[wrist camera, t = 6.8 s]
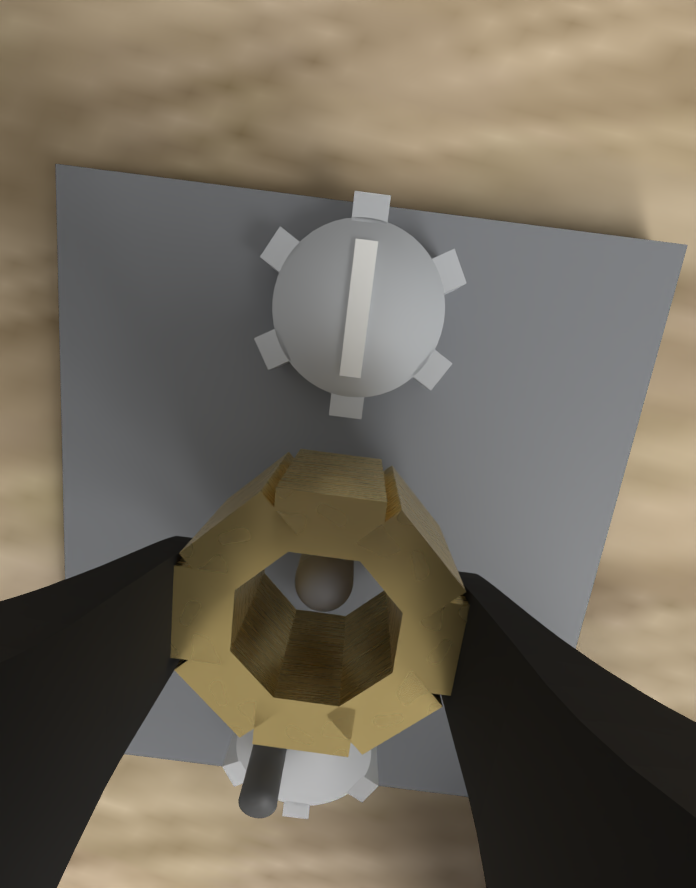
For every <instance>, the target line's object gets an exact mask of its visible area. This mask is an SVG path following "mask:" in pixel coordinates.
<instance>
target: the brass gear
mask: <svg viewBox="0 0 696 888" xmlns="http://www.w3.org/2000/svg"><path fill="white" fill-rule="evenodd" d="M287 552H294V553H302V554H309V555H317V556H324V557H332V558H339V559H347V560H354V561H360V562H361V563H362V564H363V566H364V567H365V568H366V569H367V570H368V572H369V573H370V574H371V575H372V576H373V578H374V579H375V580H376V581H377V582H378V584H379V585H380V586H381V587H382V588H383V590H384V591H382V592H381V593H379V594H378V595H376V596H375V597H373V598H372V599H370V600H369V601H367V602H366V603H364V604H363V605H362V606H360V607H359V608H357V609H356V610H354V611H353V612H351V613H350V614H348V615H347V616H342V615H335V614H327V613H320V612H312V611H305V610H297V609H296V608H295V607H294V606H293V605H292V604H291V603H290V601H289V600H288V599H287V598H286V597H285V596H284V595H283V593H282V592H281V591H280V590H279V589H278V588H277V587H276V585H275V584H274V583H273V582H272V581H271V580H270V579H269V578H268V576H267V575H266V574H265V568H266V567H268V566H269V565H271V564H272V563H273V562H275V561H276V560H278V559H279V558H280V557H282V556H283V555H284V554H286V553H287ZM179 554H180V555H181V556H182V557H183V558H182V559H181V560H180V561H179V562H178V563H177V564H176V565H175V566H174V578H173V604H172V630H171V656H170V658H176V659H180V661H179V663H178V664H177V666H176V668H175V669H174V670H175V671H176V672H177V674H178V675H179V676H180V677H181V678H182V679H183V680H184V681H185V682H186V683H187V684H188V685H189V686H190V687H191V688H192V689H193V690H194V691H195V692H196V693H197V694H198V695H199V696H200V697H201V698H202V699H203V700H204V701H205V703H206V704H207V705H208V706H209V707H210V708H211V709H212V710H213V711H214V712H215V713H216V714H217V715H218V716H219V717H220V718H221V719H222V720H223V721H224V722H225V723H226V724H227V725H228V726H229V727H230V728H231V729H232V730H233V732H234V733H235V734H236V735H237V736H238V737H239V738H240V737H242V736H243V735H245V734H246V733H248V732H249V731H251V730H252V729H254V731H253V742H252V744H255V745H263V746H270V747H277V748H284V749H292V750H299V751H306V752H313V753H320V754H328V755H335V756H342V757H349V750H350V744H351V743H352V744H353V745H354V746H355V747H356V748H357V749H358V751H359V752H360V753H361V754H362V755H363V754H364V753H366V752H368V751H369V750H371V749H373V748H374V747H376V746H378V745H379V744H381V743H383V742H384V741H386V740H388V739H389V738H391V737H393V736H394V735H396V734H398V733H400V732H401V731H403V730H405V729H406V728H408V727H410V726H411V725H413V724H415V723H416V722H418V721H420V720H421V719H423V718H425V717H426V716H428V715H430V714H431V713H433V712H435V711H436V710H438V709H440V708H441V707H443V706H442V701H441V697H440V694H441V695H448V696H451V692H452V688H453V683H454V678H455V673H456V669H457V664H458V659H459V654H460V649H461V645H462V640H463V635H464V630H465V626H466V621H467V616H468V611H469V607H470V605H469V603H468V601H467V600H466V598H465V596H464V593H465V592H466V590H465V587H464V585H463V582H462V580H461V577H460V575H459V573H458V570H457V568H456V565H455V563H454V560H453V558H452V555H451V553H450V550H449V548H448V546H447V543H446V541H445V538H444V536H443V533H442V531H441V528H440V526H439V525H438V524H437V522H436V521H435V520H434V518H433V517H432V516H431V515H430V513H429V512H428V511H427V509H426V508H425V507H424V506H423V504H422V503H421V502H420V500H419V499H418V498H417V497H416V495H415V494H414V493H413V491H412V490H411V489H410V488H409V486H408V485H407V484H406V483H405V481H404V480H403V479H402V477H401V476H400V475H399V474H398V472H397V471H396V470H395V468H394V467H393V466H390V467H389V468H387V469H386V470H385V471H383V466H382V459H375V458H368V457H360V456H352V455H345V454H337V453H329V452H322V451H314V450H306V449H300V450H299V452H298V453H297V455H296V456H295V458H294V457H293V456H292V455H291V454H290V452H288V453H287V454H285V455H284V456H283V457H281V458H280V459H279V460H277V461H276V462H275V463H274V464H272V465H271V466H270V467H268V468H267V469H266V470H264V471H263V472H262V473H261V474H259V475H258V476H257V477H255V478H254V479H253V480H251V481H250V482H249V483H248V484H246V485H245V486H244V487H242V488H241V489H240V490H238V491H237V492H236V493H235V494H233V495H232V496H231V497H229V498H228V499H227V500H226V501H225V503H224V504H223V505H222V506H221V507H220V508H219V509H218V510H217V511H216V513H215V514H214V515H213V516H212V517H211V518H210V519H209V520H208V521H207V523H206V524H205V525H204V526H203V527H202V528H201V529H200V530H199V532H198V533H197V534H196V535H195V536H194V537H193V538H192V539H191V540H190V542H189V543H188V544H187V545H186V546H185V547H184V548H183V549H182V550H181V552H180V553H179Z"/></svg>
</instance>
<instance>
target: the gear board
mask: <svg viewBox="0 0 696 888" xmlns="http://www.w3.org/2000/svg"><path fill="white" fill-rule="evenodd" d="M390 200H391V195H384V194H376V193H368V192H361V191H355V193H354V202H349V201H341V200H334V199H326V198H318V197H310V196H303V195H295V194H287V193H279V192H271V191H264V190H256V189H248V188H240V187H232V186H225V185H217V184H209V183H201V182H194V181H186V180H178V179H170V178H162V177H155V176H147V175H139V174H131V173H124V172H116V171H108V170H100V169H92V168H85V167H77V166H69V165H61V164H56V206H57V249H58V292H59V334H60V377H61V420H62V463H63V506H64V548H65V579H68V578H70V577H73V576H76V575H78V574H81V573H84V572H86V571H89V570H91V569H94V568H97V567H99V566H102V565H104V564H106V563H109V562H111V561H113V560H116V559H118V558H121V557H123V556H125V555H128V554H130V553H132V552H135V551H137V550H139V549H142V548H144V547H146V546H149V545H151V544H154V543H156V542H159V541H161V540H164V539H167V538H170V537H173V536H182V537H190V538H193V537H194V536H195V535H196V534H197V533H198V532H199V530H200V529H201V528H202V527H203V526H204V525H205V524H206V523H207V521H208V520H209V519H210V518H211V517H212V516H213V515H214V514H215V513H216V511H217V510H218V509H219V508H220V507H221V506H222V505H223V504H224V503H225V501H226V500H227V499H228V498H229V497H231V496H232V495H233V494H235V493H236V492H237V491H238V490H240V489H241V488H242V487H244V486H245V485H246V484H248V483H249V482H250V481H251V480H253V479H254V478H255V477H257V476H258V475H259V474H261V473H262V472H263V471H264V470H266V469H267V468H268V467H270V466H271V465H272V464H274V463H275V462H276V461H277V460H279V459H280V458H281V457H283V456H284V455H285V454H287V453H288V452H290V454H291V455H292V456H293V457H294V458H295V456H296V455H297V453H298V452H299V450H300V449H306V450H314V451H322V452H329V453H337V454H345V455H352V456H360V457H368V458H375V459H382V466H383V471H385V470H386V469H387V468H389V467H390V466H393V467H394V468H395V470H396V471H397V472H398V474H399V475H400V476H401V477H402V479H403V480H404V481H405V483H406V484H407V485H408V486H409V488H410V489H411V490H412V491H413V493H414V494H415V495H416V497H417V498H418V499H419V500H420V502H421V503H422V504H423V506H424V507H425V508H426V509H427V511H428V512H429V513H430V515H431V516H432V517H433V518H434V520H435V521H436V522H437V524H438V525H439V526H440V528H441V531H442V533H443V536H444V538H445V541H446V543H447V546H448V548H449V550H450V553H451V555H452V558H453V560H454V563H455V565H456V568H457V570H458V571H460V572H468V573H476V574H478V575H480V576H481V577H483V578H484V579H486V580H487V581H488V582H490V583H491V584H492V585H494V586H495V587H496V588H497V589H499V590H500V591H501V592H502V593H504V594H505V595H506V596H507V597H509V598H510V599H511V600H512V601H513V602H515V603H516V604H517V605H518V606H520V607H521V608H522V609H523V610H525V611H526V612H527V613H528V614H530V615H531V616H532V617H533V618H535V619H536V620H537V621H539V622H540V623H541V624H542V625H544V626H545V627H546V628H548V629H549V630H550V631H552V632H553V633H554V634H556V635H557V636H558V637H560V638H561V639H562V640H564V641H565V642H566V643H568V644H569V645H571V646H572V647H573V648H575V649H576V645H577V641H578V638H579V634H580V631H581V627H582V623H583V620H584V616H585V613H586V609H587V605H588V602H589V598H590V595H591V591H592V587H593V584H594V580H595V576H596V573H597V569H598V566H599V562H600V558H601V555H602V551H603V548H604V544H605V540H606V537H607V533H608V530H609V526H610V522H611V519H612V515H613V512H614V508H615V504H616V501H617V497H618V494H619V490H620V486H621V483H622V479H623V476H624V472H625V468H626V465H627V461H628V458H629V454H630V450H631V447H632V443H633V440H634V436H635V432H636V429H637V425H638V422H639V418H640V414H641V411H642V407H643V404H644V400H645V396H646V393H647V389H648V386H649V382H650V378H651V375H652V371H653V368H654V364H655V360H656V357H657V353H658V350H659V346H660V342H661V339H662V335H663V332H664V328H665V324H666V321H667V317H668V314H669V310H670V306H671V303H672V299H673V296H674V292H675V288H676V285H677V281H678V278H679V274H680V270H681V267H682V263H683V260H684V256H685V252H686V249H687V245H684V244H676V243H668V242H660V241H653V240H645V239H637V238H629V237H622V236H614V235H606V234H598V233H590V232H583V231H575V230H567V229H559V228H551V227H544V226H536V225H528V224H520V223H513V222H505V221H497V220H489V219H481V218H474V217H466V216H458V215H450V214H443V213H435V212H427V211H419V210H411V209H404V208H396V207H390ZM265 574H266V575H267V576H268V578H269V579H270V580H271V581H272V582H273V583H274V584H275V585H276V587H277V588H278V589H279V590H280V591H281V592H282V593H283V595H284V596H285V597H286V598H287V599H288V600H289V601H290V603H291V604H292V605H293V606H294V607H295V608H296V609H297V610H305V611H312V612H320V613H327V614H335V615H342V616H347V615H348V614H350V613H351V612H353V611H354V610H356V609H357V608H359V607H360V606H362V605H363V604H364V603H366V602H367V601H369V600H370V599H372V598H373V597H375V596H376V595H378V594H379V593H381V592H382V591H384V590H383V588H382V587H381V586H380V585H379V584H378V582H377V581H376V580H375V579H374V578H373V576H372V575H371V574H370V573H369V572H368V570H367V569H366V568H365V567H364V566H363V564H362V563H361V562H360V561H354V560H347V559H339V558H332V557H324V556H317V555H309V554H302V553H294V552H287V553H286V554H284V555H283V556H282V557H280V558H279V559H278V560H276V561H275V562H273V563H272V564H271V565H269V566H268V567H266V568H265ZM440 697H441V701H442V706H443V707H441V708H440V709H438V710H436V711H435V712H433V713H431V714H430V715H428V716H426V717H425V718H423V719H421V720H420V721H418V722H416V723H415V724H413V725H411V726H410V727H408V728H406V729H405V730H403V731H401V732H400V733H398V734H396V735H394V736H393V737H391V738H389V739H388V740H386V741H384V742H383V743H381V744H379V745H378V746H376V747H374V748H373V749H371V750H369V751H368V752H366V753H364V754H363V755H362V754H361V753H360V752H359V751H358V749H357V748H356V747H355V746H354V745H353V744H352V743H351V744H350V750H349V757H342V756H335V755H328V754H320V753H313V752H306V751H299V750H292V749H284V748H277V747H270V746H263V745H255V744H252V742H253V731H254V729H252V730H251V731H249V732H248V733H246V734H245V735H243V736H242V737H240V738H239V737H238V736H237V735H236V734H235V733H234V732H233V730H232V729H231V728H230V727H229V726H228V725H227V724H226V723H225V722H224V721H223V720H222V719H221V718H220V717H219V716H218V715H217V714H216V713H215V712H214V711H213V710H212V709H211V708H210V707H209V706H208V705H207V704H206V703H205V701H204V700H203V699H202V698H201V697H200V696H199V695H198V694H197V693H196V692H195V691H194V690H193V689H192V688H191V687H190V686H189V685H188V684H187V683H186V682H185V681H184V680H183V679H182V678H181V677H180V676H179V675H178V674H177V672H176V671H175V670H174V672H173V673H172V675H171V677H170V678H169V680H168V682H167V683H166V685H165V687H164V688H163V690H162V692H161V693H160V695H159V697H158V698H157V700H156V702H155V703H154V705H153V707H152V708H151V710H150V712H149V713H148V715H147V717H146V718H145V720H144V722H143V723H142V725H141V727H140V728H139V730H138V732H137V733H136V735H135V736H134V738H133V740H132V741H131V743H130V745H129V746H128V748H127V750H126V751H125V753H124V754H128V755H136V756H144V757H152V758H160V759H168V760H176V761H184V762H192V763H200V764H208V765H216V766H222V767H223V769H224V770H225V772H226V774H227V776H228V777H229V779H230V781H231V782H232V784H233V786H237V785H240V784H243V785H242V789H241V793H240V797H239V807H240V809H241V810H242V811H243V812H244V813H245V814H246V815H248V816H250V817H254V818H265V817H268V816H270V815H271V814H272V813H273V812H274V811H275V810H276V807H277V801H278V800H279V801H282V802H284V807H283V816H286V817H294V818H302V819H308V817H309V809H310V805H320V804H325V803H329V802H332V801H335V800H337V799H339V798H341V797H343V796H345V795H347V794H350V795H351V796H353V797H354V798H356V799H357V800H359V801H361V802H363V801H364V800H365V799H366V798H367V797H368V796H369V795H370V794H371V793H372V792H373V791H374V790H375V789H376V788H377V787H378V786H385V787H393V788H401V789H409V790H417V791H425V792H433V793H441V794H449V795H457V796H465V797H468V794H467V790H466V786H465V783H464V779H463V775H462V772H461V768H460V764H459V760H458V757H457V753H456V749H455V746H454V742H453V738H452V734H451V731H450V727H449V723H448V719H447V715H446V712H445V708H444V704H443V700H442V696H441V694H440Z"/></svg>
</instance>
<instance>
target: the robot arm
mask: <svg viewBox="0 0 696 888" xmlns="http://www.w3.org/2000/svg"><path fill="white" fill-rule="evenodd" d="M191 539H192V538H190V537H182V536H173V537H170V538H167V539H164V540H161V541H159V542H156V543H154V544H151V545H149V546H146V547H144V548H142V549H139V550H137V551H135V552H132V553H130V554H128V555H125V556H123V557H121V558H118V559H116V560H113V561H111V562H109V563H106V564H104V565H102V566H99V567H97V568H94V569H91V570H89V571H86V572H84V573H81V574H78V575H76V576H73V577H70V578H68V579H65V580H63V581H60V582H57V583H55V584H52V585H50V586H47V587H44V588H41V589H38V590H35V591H32V592H29V593H26V594H23V595H20V596H17V597H14V598H10V599H7V600H4V601H0V888H57V886H58V884H59V882H60V880H61V878H62V875H63V873H64V871H65V869H66V867H67V865H68V863H69V861H70V858H71V856H72V854H73V852H74V850H75V848H76V846H77V844H78V842H79V840H80V838H81V836H82V834H83V832H84V829H85V827H86V825H87V823H88V821H89V819H90V817H91V815H92V813H93V811H94V809H95V807H96V805H97V803H98V801H99V799H100V797H101V795H102V793H103V791H104V789H105V787H106V785H107V783H108V781H109V779H110V778H111V776H112V774H113V772H114V770H115V769H116V767H117V765H118V763H119V761H120V760H121V758H122V756H123V755H124V753H125V751H126V750H127V748H128V746H129V745H130V743H131V741H132V740H133V738H134V736H135V735H136V733H137V732H138V730H139V728H140V727H141V725H142V723H143V722H144V720H145V718H146V717H147V715H148V713H149V712H150V710H151V708H152V707H153V705H154V703H155V702H156V700H157V698H158V697H159V695H160V693H161V692H162V690H163V688H164V687H165V685H166V683H167V682H168V680H169V678H170V677H171V675H172V673H173V672H174V669H175V668H176V666H177V664H178V663H179V661H180V659H176V658H170V656H171V630H172V604H173V578H174V566H175V565H176V564H177V563H178V562H179V561H180V560H181V559H182V558H183V557H182V556H181V555H180V554H179V553H180V552H181V550H182V549H183V548H184V547H185V546H186V545H187V544H188V543H189V542H190V540H191ZM458 573H459V575H460V577H461V580H462V582H463V585H464V587H465V590H466V592H465V593H464V596H465V598H466V600H467V601H468V603H469V605H470V607H469V611H468V616H467V621H466V626H465V630H464V635H463V640H462V645H461V649H460V654H459V659H458V664H457V669H456V673H455V678H454V683H453V688H452V692H451V696H448V695H441V696H442V700H443V704H444V708H445V712H446V715H447V719H448V723H449V727H450V731H451V734H452V738H453V742H454V746H455V749H456V753H457V757H458V760H459V764H460V768H461V772H462V775H463V779H464V783H465V786H466V790H467V794H468V798H469V801H470V805H471V810H472V814H473V818H474V823H475V827H476V831H477V837H478V842H479V848H480V854H481V859H482V865H483V870H484V876H485V882H486V887H487V888H696V722H694V721H692V720H690V719H689V718H687V717H685V716H683V715H681V714H679V713H677V712H676V711H674V710H672V709H670V708H668V707H666V706H665V705H663V704H661V703H659V702H658V701H656V700H654V699H653V698H651V697H649V696H647V695H646V694H644V693H642V692H641V691H639V690H637V689H636V688H634V687H633V686H631V685H629V684H628V683H626V682H625V681H623V680H621V679H620V678H618V677H617V676H615V675H613V674H612V673H610V672H608V671H607V670H605V669H604V668H602V667H601V666H599V665H598V664H596V663H595V662H593V661H592V660H590V659H589V658H587V657H586V656H585V655H583V654H582V653H580V652H579V651H578V650H576V649H575V648H573V647H572V646H571V645H569V644H568V643H566V642H565V641H564V640H562V639H561V638H560V637H558V636H557V635H556V634H554V633H553V632H552V631H550V630H549V629H548V628H546V627H545V626H544V625H542V624H541V623H540V622H539V621H537V620H536V619H535V618H533V617H532V616H531V615H530V614H528V613H527V612H526V611H525V610H523V609H522V608H521V607H520V606H518V605H517V604H516V603H515V602H513V601H512V600H511V599H510V598H509V597H507V596H506V595H505V594H504V593H502V592H501V591H500V590H499V589H497V588H496V587H495V586H494V585H492V584H491V583H490V582H488V581H487V580H486V579H484V578H483V577H481V576H480V575H478V574H476V573H468V572H460V571H458Z"/></svg>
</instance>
